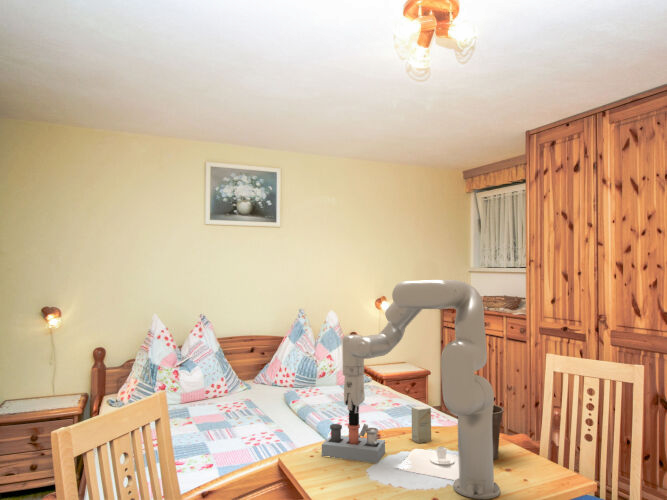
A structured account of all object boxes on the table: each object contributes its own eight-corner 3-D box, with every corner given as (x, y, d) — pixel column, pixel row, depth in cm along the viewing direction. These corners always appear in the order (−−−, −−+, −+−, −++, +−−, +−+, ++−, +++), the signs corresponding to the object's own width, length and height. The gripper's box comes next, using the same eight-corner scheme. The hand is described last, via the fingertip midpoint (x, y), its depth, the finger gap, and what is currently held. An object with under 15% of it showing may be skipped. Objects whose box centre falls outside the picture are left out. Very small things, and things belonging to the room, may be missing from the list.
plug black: (339, 451, 158) (339, 427, 159) (328, 450, 160) (328, 426, 160) (343, 447, 162) (343, 424, 163) (332, 446, 164) (332, 423, 164)
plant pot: (497, 447, 165) (496, 401, 166) (511, 464, 149) (509, 413, 150) (451, 446, 166) (450, 400, 168) (460, 463, 150) (459, 412, 152)
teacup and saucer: (450, 468, 145) (449, 455, 145) (425, 464, 149) (425, 451, 149) (457, 459, 153) (456, 446, 153) (433, 455, 157) (433, 442, 157)
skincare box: (418, 443, 169) (418, 409, 171) (411, 440, 173) (410, 407, 174) (432, 440, 173) (431, 407, 174) (424, 437, 176) (423, 405, 177)
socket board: (377, 463, 150) (377, 450, 151) (321, 456, 157) (321, 444, 157) (385, 452, 161) (385, 440, 161) (332, 446, 167) (332, 434, 168)
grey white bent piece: (348, 447, 165) (348, 424, 166) (348, 446, 167) (348, 423, 168) (368, 447, 166) (368, 424, 166) (367, 445, 167) (367, 423, 168)
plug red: (357, 451, 156) (357, 427, 157) (346, 450, 158) (346, 426, 158) (361, 447, 160) (361, 423, 161) (349, 446, 162) (349, 422, 162)
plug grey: (376, 456, 154) (376, 431, 155) (364, 454, 155) (364, 430, 156) (379, 452, 158) (379, 428, 159) (367, 450, 159) (367, 427, 160)
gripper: (357, 374, 153) (358, 431, 151) (369, 367, 167) (369, 419, 165) (336, 373, 155) (336, 429, 154) (349, 366, 169) (349, 418, 168)
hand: (353, 424), depth 160 cm, fingers closed
